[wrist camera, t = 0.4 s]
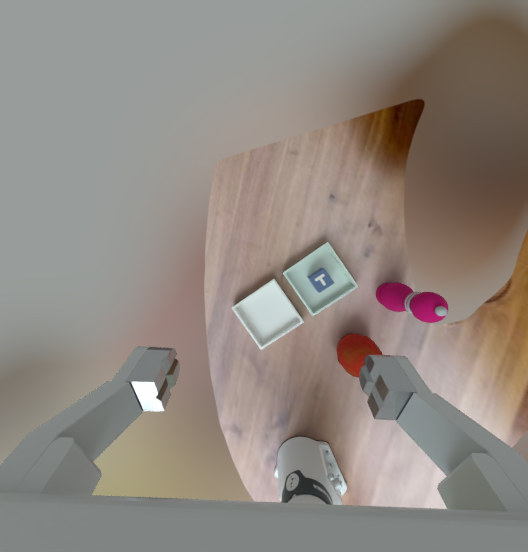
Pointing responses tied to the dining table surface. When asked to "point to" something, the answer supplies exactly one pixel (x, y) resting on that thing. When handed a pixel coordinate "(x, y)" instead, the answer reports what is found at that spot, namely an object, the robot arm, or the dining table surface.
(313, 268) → the tray sage
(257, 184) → the dining table surface
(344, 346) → the apple
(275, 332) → the tray offwhite
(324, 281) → the letter cube
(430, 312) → the pepper mill
